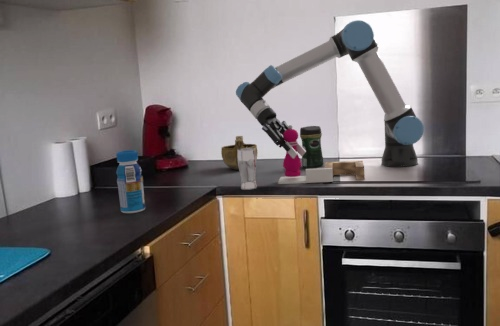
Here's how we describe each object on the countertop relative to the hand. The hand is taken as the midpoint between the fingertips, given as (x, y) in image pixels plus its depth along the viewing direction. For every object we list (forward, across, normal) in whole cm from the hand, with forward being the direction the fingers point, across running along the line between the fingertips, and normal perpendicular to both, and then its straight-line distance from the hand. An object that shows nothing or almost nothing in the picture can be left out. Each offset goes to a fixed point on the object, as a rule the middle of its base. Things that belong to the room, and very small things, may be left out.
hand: (299, 154), depth 191 cm
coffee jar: (-3, +31, +18) cm, 36 cm away
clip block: (+16, +13, -1) cm, 21 cm away
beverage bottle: (-11, -60, +26) cm, 67 cm away
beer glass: (-1, -18, +16) cm, 24 cm away
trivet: (+5, 0, +10) cm, 11 cm away
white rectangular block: (+13, +1, +2) cm, 13 cm away
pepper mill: (+3, 0, +9) cm, 9 cm away
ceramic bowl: (-24, +15, +39) cm, 49 cm away
